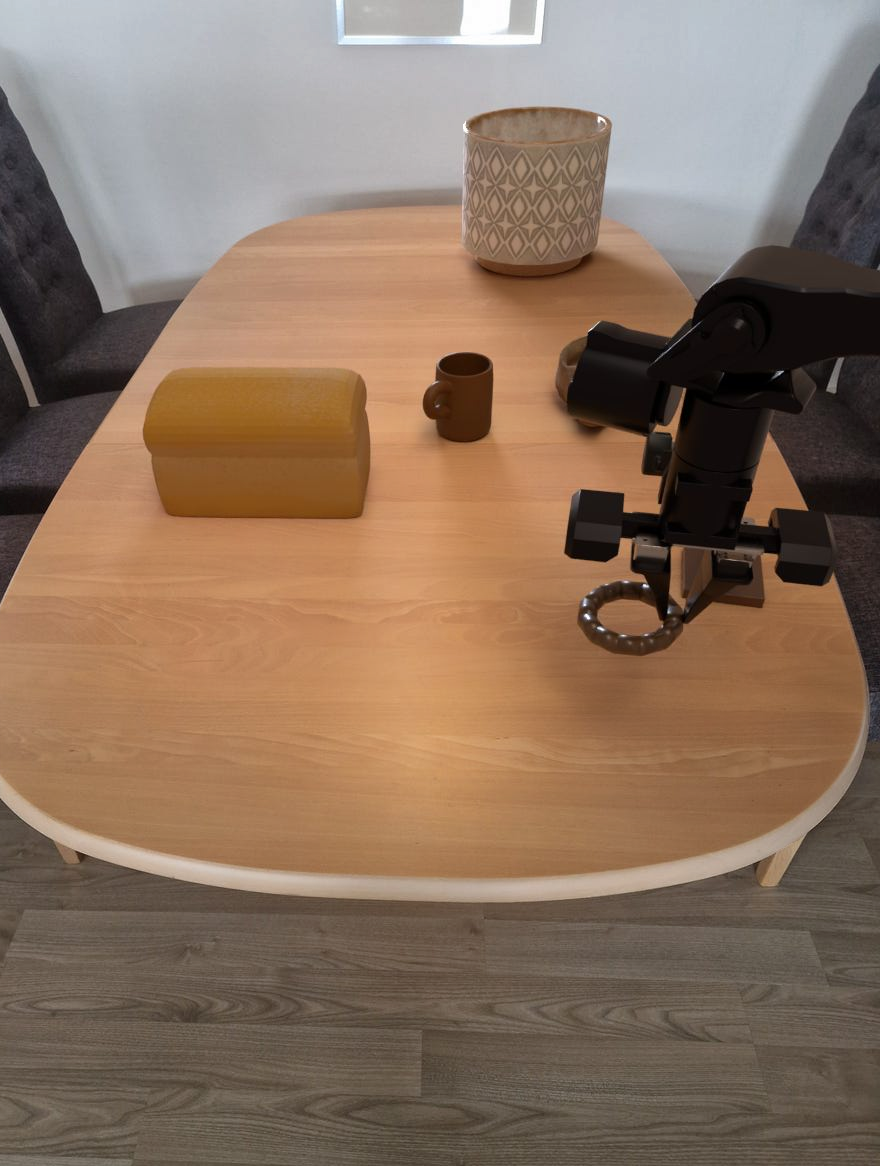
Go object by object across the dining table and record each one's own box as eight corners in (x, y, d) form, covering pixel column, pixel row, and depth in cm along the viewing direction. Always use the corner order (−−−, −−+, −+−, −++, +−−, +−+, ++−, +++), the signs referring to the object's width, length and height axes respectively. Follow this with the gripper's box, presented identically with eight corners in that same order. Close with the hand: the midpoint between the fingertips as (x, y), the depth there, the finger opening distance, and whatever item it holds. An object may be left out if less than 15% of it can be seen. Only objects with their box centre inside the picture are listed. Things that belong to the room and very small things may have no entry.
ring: (681, 595, 71) (684, 581, 70) (682, 664, 65) (685, 649, 64) (581, 588, 73) (582, 573, 72) (573, 654, 67) (574, 639, 66)
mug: (448, 464, 108) (449, 397, 101) (403, 445, 112) (401, 379, 105) (502, 426, 114) (505, 360, 108) (458, 409, 118) (458, 345, 112)
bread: (372, 462, 109) (365, 352, 98) (362, 520, 100) (353, 405, 89) (189, 460, 111) (163, 352, 100) (162, 517, 101) (131, 404, 91)
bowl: (671, 438, 108) (663, 367, 101) (563, 459, 112) (548, 393, 106) (660, 373, 120) (651, 306, 114) (562, 395, 125) (549, 332, 118)
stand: (757, 560, 92) (775, 506, 87) (762, 608, 86) (781, 552, 81) (682, 551, 93) (695, 497, 88) (681, 597, 88) (696, 542, 83)
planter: (493, 291, 149) (499, 150, 133) (442, 245, 166) (442, 116, 151) (620, 268, 154) (640, 131, 139) (557, 226, 172) (569, 100, 156)
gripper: (845, 404, 61) (785, 570, 72) (586, 385, 65) (566, 547, 75) (871, 488, 53) (799, 660, 64) (575, 461, 57) (554, 629, 68)
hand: (673, 618), depth 68 cm, fingers closed on ring, 1 cm apart
